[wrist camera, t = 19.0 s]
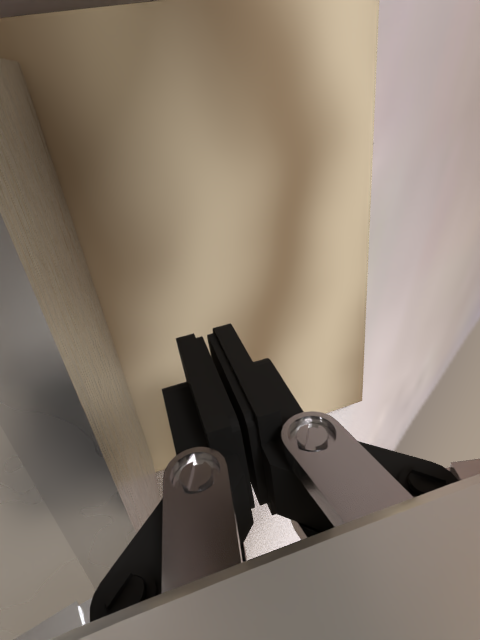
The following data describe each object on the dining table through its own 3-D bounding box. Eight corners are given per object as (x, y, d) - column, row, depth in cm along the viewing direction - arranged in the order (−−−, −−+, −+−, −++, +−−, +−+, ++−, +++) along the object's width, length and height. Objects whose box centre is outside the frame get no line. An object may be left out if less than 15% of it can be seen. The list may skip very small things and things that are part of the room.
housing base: (-136, 554, 19) (-161, 613, 17) (-619, 91, 9) (-815, 96, 7) (352, 389, 24) (378, 419, 22) (362, -19, 14) (410, -34, 12)
